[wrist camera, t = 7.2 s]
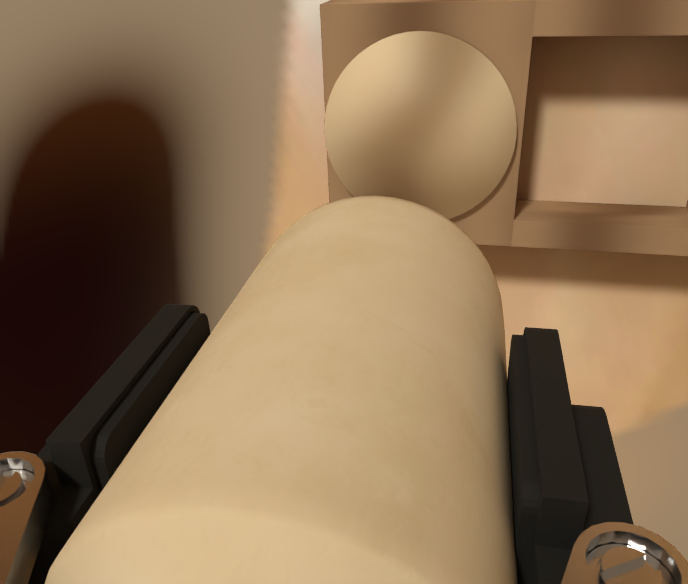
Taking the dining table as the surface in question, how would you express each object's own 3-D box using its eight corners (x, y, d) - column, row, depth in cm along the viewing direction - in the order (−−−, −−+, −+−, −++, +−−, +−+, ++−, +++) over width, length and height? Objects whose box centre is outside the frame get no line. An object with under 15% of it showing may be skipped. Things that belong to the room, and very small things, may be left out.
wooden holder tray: (803, -11, 24) (838, -5, 21) (734, 235, 29) (755, 263, 26) (333, -2, 27) (317, 5, 25) (342, 216, 32) (329, 238, 30)
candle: (544, 358, 14) (634, 989, 6) (339, 430, 16) (182, 966, 8) (428, 144, 13) (308, 594, 4) (215, 257, 15) (-163, 707, 6)
